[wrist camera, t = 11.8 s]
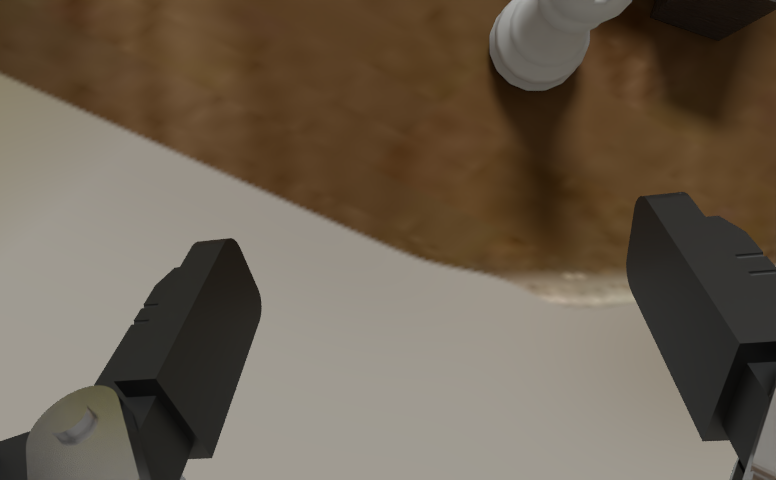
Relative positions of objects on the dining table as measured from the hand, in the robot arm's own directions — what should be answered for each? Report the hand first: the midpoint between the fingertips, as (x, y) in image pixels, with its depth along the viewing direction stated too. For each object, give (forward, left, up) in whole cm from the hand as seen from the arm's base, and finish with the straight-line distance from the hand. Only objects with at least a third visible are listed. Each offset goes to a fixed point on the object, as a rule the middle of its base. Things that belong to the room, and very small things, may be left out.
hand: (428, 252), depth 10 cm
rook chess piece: (+3, +11, -14) cm, 18 cm away
